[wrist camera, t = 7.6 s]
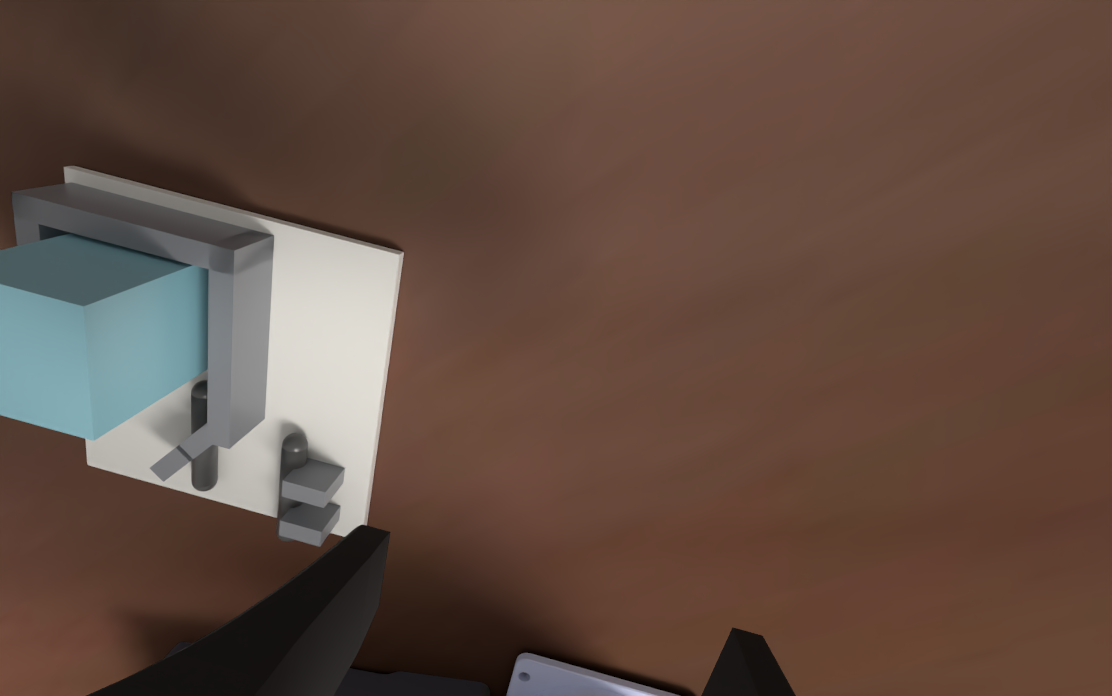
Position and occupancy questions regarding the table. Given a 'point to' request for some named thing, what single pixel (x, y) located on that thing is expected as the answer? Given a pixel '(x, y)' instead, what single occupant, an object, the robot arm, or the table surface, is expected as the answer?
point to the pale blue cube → (96, 332)
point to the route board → (280, 384)
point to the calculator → (397, 683)
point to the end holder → (192, 239)
